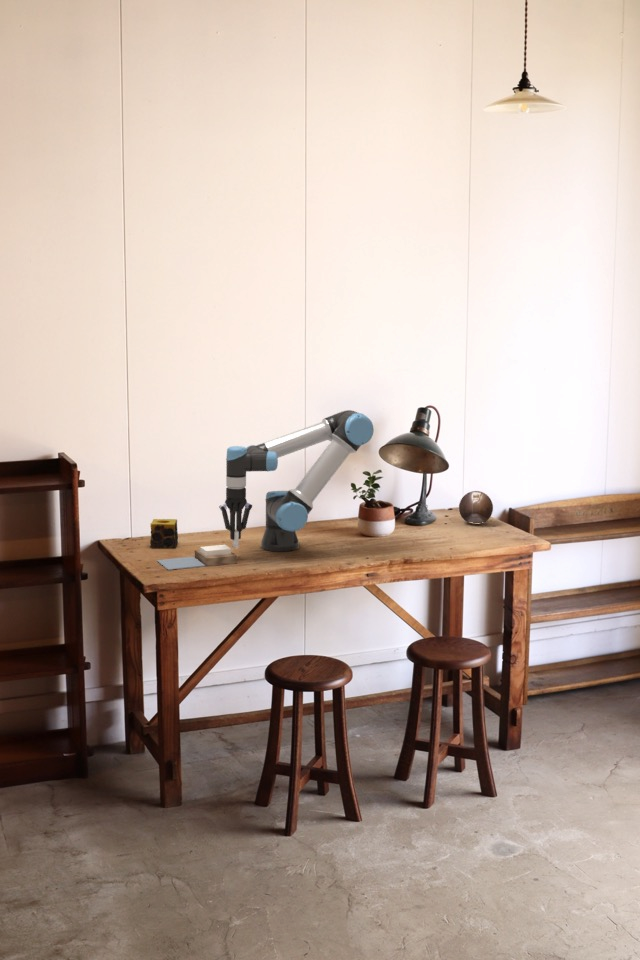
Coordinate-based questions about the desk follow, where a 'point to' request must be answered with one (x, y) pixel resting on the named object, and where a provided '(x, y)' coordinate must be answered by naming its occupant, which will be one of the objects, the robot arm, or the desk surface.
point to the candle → (164, 533)
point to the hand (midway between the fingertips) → (235, 547)
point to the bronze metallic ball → (476, 507)
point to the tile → (215, 550)
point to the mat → (181, 563)
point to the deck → (216, 559)
